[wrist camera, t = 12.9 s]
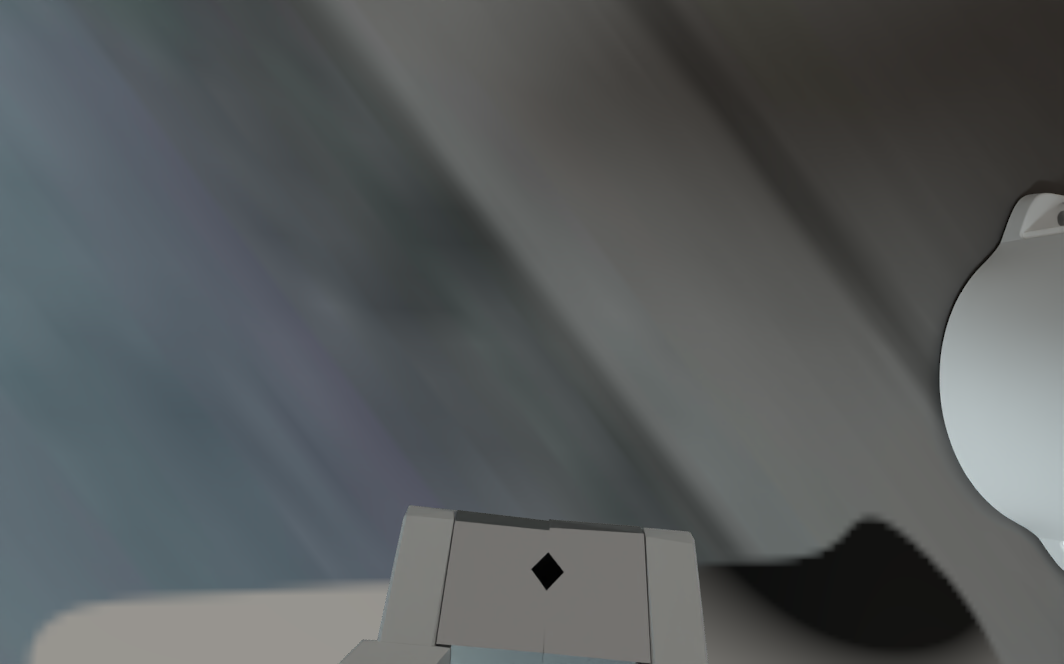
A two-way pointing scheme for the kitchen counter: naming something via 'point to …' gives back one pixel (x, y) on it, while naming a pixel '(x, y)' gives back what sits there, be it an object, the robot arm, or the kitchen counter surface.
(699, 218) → the kitchen counter surface
